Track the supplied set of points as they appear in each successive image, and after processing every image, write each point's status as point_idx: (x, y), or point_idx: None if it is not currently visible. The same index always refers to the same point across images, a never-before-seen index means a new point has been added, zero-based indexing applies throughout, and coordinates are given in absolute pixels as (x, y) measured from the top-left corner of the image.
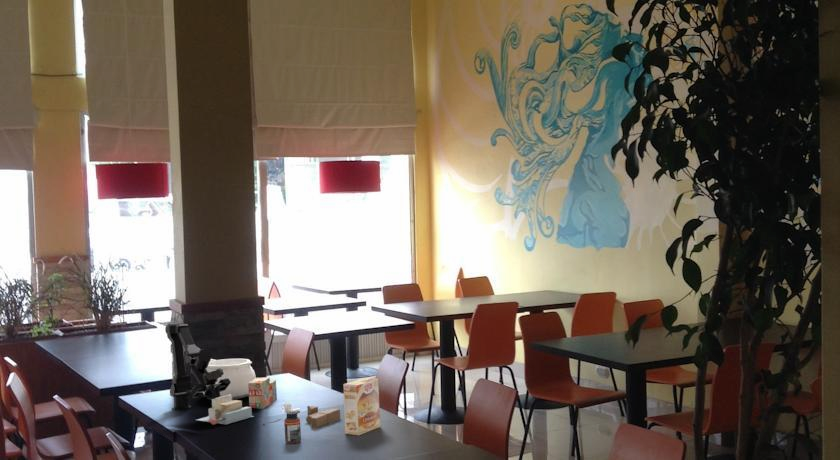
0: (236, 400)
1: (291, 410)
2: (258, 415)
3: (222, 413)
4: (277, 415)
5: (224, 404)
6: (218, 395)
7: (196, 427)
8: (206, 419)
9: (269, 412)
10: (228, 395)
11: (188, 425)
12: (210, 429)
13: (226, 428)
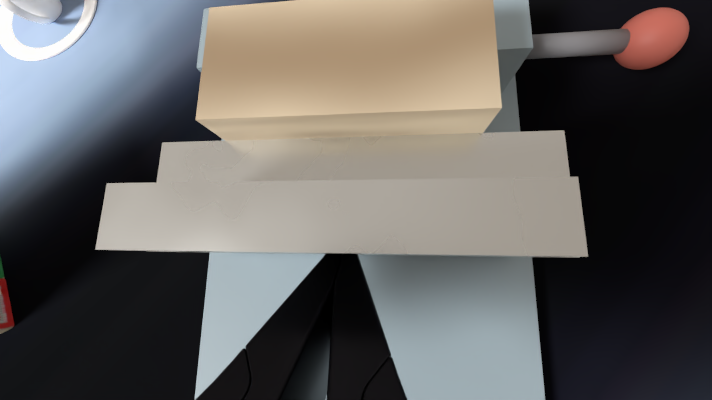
0: (214, 81)
1: (3, 28)
2: (158, 112)
3: (529, 38)
4: (127, 8)
5: (473, 29)
6: (299, 344)
7: (658, 249)
8: (478, 334)
9: (70, 112)
10: (181, 188)
11: (658, 388)
12: (626, 90)
13: (535, 15)
